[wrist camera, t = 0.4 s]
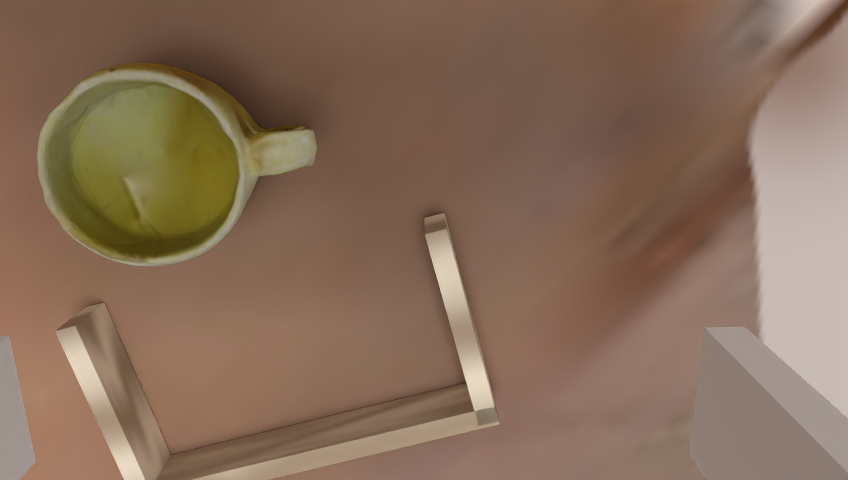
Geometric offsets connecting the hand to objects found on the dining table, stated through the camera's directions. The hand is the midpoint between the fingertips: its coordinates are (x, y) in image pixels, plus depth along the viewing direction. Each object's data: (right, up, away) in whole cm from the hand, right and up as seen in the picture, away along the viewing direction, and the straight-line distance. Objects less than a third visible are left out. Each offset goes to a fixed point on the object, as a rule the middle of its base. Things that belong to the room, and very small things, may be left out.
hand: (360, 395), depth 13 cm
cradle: (-7, -4, +28) cm, 29 cm away
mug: (-10, +8, +25) cm, 28 cm away
